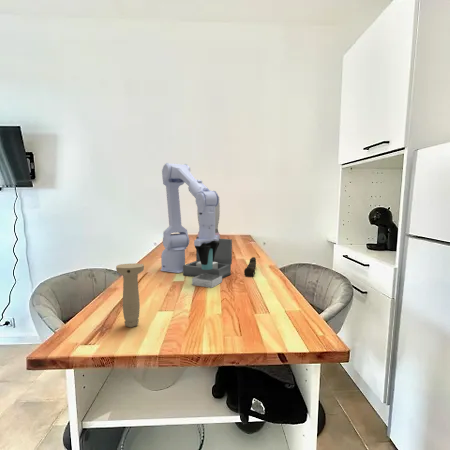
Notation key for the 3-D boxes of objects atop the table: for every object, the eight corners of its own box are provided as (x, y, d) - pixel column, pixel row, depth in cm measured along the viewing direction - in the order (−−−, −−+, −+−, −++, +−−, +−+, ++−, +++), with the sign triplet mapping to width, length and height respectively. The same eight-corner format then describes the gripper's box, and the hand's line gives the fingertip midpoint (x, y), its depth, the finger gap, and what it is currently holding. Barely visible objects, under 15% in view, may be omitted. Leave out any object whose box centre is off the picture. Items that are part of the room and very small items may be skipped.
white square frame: (192, 284, 114) (192, 278, 114) (203, 279, 121) (203, 273, 121) (211, 287, 110) (211, 280, 110) (222, 282, 117) (222, 275, 117)
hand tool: (254, 278, 124) (254, 266, 124) (243, 277, 125) (244, 265, 125) (260, 267, 143) (260, 256, 142) (251, 266, 143) (251, 256, 143)
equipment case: (183, 275, 127) (182, 240, 125) (197, 269, 136) (197, 236, 135) (219, 280, 120) (219, 243, 118) (231, 273, 129) (231, 239, 128)
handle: (120, 321, 81) (118, 263, 80) (146, 320, 82) (144, 263, 81) (116, 330, 77) (114, 268, 75) (143, 328, 77) (142, 267, 76)
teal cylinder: (199, 269, 114) (199, 249, 113) (204, 266, 118) (204, 247, 117) (209, 270, 112) (209, 250, 112) (214, 267, 116) (214, 248, 115)
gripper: (207, 227, 105) (207, 268, 107) (226, 224, 118) (226, 260, 120) (188, 226, 108) (189, 266, 110) (209, 223, 121) (209, 258, 123)
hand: (207, 263), depth 115 cm, fingers closed on teal cylinder, 4 cm apart
